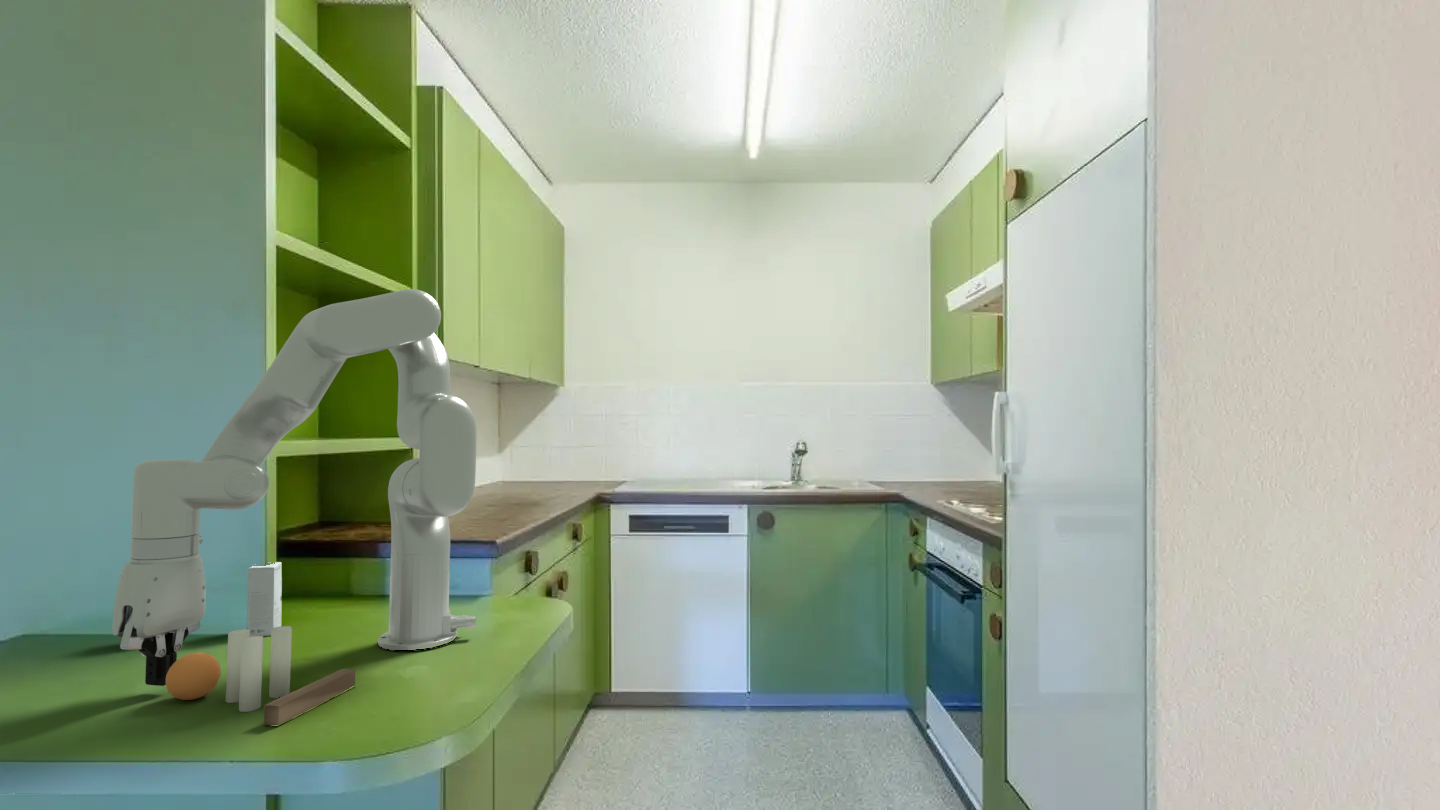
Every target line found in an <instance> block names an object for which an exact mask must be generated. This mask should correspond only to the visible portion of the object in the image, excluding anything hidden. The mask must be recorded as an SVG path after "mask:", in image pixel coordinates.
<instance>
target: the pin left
mask: <svg viewBox="0 0 1440 810" xmlns="http://www.w3.org/2000/svg"><path fill="white" fill-rule="evenodd" d="M263 652H264V636H250V637H245V638H243V639H241V663H240V690H239V702H238V712H241V713H247V712H253V711H257V710H259V709H260V708H261V707H262V687H263V685H262V683H263V682H262V681H263V655H264V654H263Z"/></svg>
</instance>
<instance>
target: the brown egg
mask: <svg viewBox="0 0 1440 810" xmlns="http://www.w3.org/2000/svg"><path fill="white" fill-rule="evenodd" d="M221 669H222V668H221V664H220V662H219V661H218V659H217V658H216V657H214V656H213V655H211V654H209V653H206V652H201V651H200V652H191V653H188V654H186V655H183V656H182V657H180V658H177V661H176V662H175V663H174V664H173V665H172V666H171V667H170V669H169V670H168V672H167V675H166V685H165V688H166V689H167V691H168V692H169V694H170V695H171V696H172V697H174V698H176V699H178V700H183V701H191V700H197V699H199V698H202V697H204V696H206V695H207V694H209V693H210V692H211V691H212V690H213V689H215V687H216V686H217V684H218V682H219V680H220V678H221V672H222V670H221Z"/></svg>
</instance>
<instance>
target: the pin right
mask: <svg viewBox="0 0 1440 810" xmlns="http://www.w3.org/2000/svg"><path fill="white" fill-rule="evenodd" d="M292 631H293V627H292V626H289V625H283V626H282V625H281V626H280V627H275V628H273V629H271V635H270V658H269V659H270V661H269V686H268V688H269V691H268V697H269V698H270V699H279V697H280V698H281V697H283V696H285V695H287V694H289V693H291V691H290V690H291V662H292V639H293V638H292V633H293V632H292Z"/></svg>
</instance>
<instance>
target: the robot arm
mask: <svg viewBox="0 0 1440 810" xmlns="http://www.w3.org/2000/svg"><path fill="white" fill-rule="evenodd" d="M441 320H442V312H441V308H440V305H439V303H438V301H437V300H436V299H435V297H433V296H432V295H430V294H429V293H427V292H426V291H423V290H421V289H415V288H406V289H402V290H398V291H392V292H388V293H383V294H379V295H374V296H368V297H364V298H360V299H359V298H358V299H353V300H352V299H351V300H348V301H342V302H336V303H331V304H328V305H325V306H321V307H320V308H317V309H314V310H311V311H309V312H308V313H307V314H305V315H304V316H303V317H302V318H301V320H300V321H298V324H297V325H296V326H295V328H294V329H293V330H292V332H291V333H290V335H289V337H288V339H287V340H286V341H285V343H284V344H283V346H282V347H281V349H280V350H279V352H278V353H277V355H276V357H275V358H274V360H273V362H272V363H271V364H270V365H269V367H268V369H267V370H266V372H265V373H264V374H263V376H262V378H261V379H260V381H258V383H257V384H256V386H255V387H254V389H253V390H252V391H251V392H250V393H249V395H248V396H247V397H246V399H245V400H244V402H243V403H242V405H241V406H240V407H239V409H238V410H237V411H236V412H235V414H234V415H233V416H232V417H231V418H230V420H229V421H228V423H226V425H225V426H224V428H222V431H221V432H220V433H219V434H218V436H217V437H216V439H215V440H214V441H213V444H212V445H211V446H210V447H209V449H208V451H207V453H206V454H205V455H204V457H203V459H202V460H201V461H195V460H193V459H192V460H190V459H151V460H144V461H142V462H140V463H138V464H137V465H136V466H135V468H134V470H133V477H132V478H133V479H132V504H131V532H130V537H131V538H130V553H129V554H130V558H129V562H125V563H123V566H122V569H121V572H120V576H119V579H118V582H117V587H116V592H115V597H114V598H115V599H114V604H113V605H114V606H113V614H112V615H113V616H112V634H113V636H115V637H117V638H121V641H120V644H119V648H120V650H129V651H130V650H131V651H132V650H133V651H134V650H137V651H138V652H140V654H141V656H142V657H145V658H146V659H145V679H144V683H145V685H147V686H156V687H159V686H160V687H164V686H166V675H167V672H168V670H169V669H170V667H171V666H172V665H173V664H174V663H175V662H176V661H177V660H178V655H177V654H178V652H180V651H181V649H182V648H183V643H184V642H185V640H186V638H187V637H188V635H191V634H193V633H194V632H196V631H197V630H199V629H200V628H201V622H202V620H203V618H204V617H205V612H206V595H207V593H206V575H205V570H204V569H205V568H204V563H203V562H204V561H203V558H202V554H200V545H201V544H202V543H203V540H204V539H203V537H202V535H200V530H201V528H200V527H201V509H211V510H212V509H213V510H227V511H231V510H232V511H237V510H244V509H247V508H251V507H253V506H254V505H256V504H258V503H259V502H260V501H261V500H262V499H263V498H265V496H266V495H267V493H268V490H269V486H270V479H269V475H268V473H267V471H266V470H265V468H264V467H263V465H264V463H265V461H266V460H267V458H268V457H269V456H270V454H271V453H272V451H273V450H274V448H275V447H276V446H277V444H279V442H280V441H281V440H283V438H284V437H286V435H287V434H289V433H290V432H291V431H292V430H294V429H295V428H296V427H298V426H299V425H301V424H302V423H304V422H305V421H306V420H307V419H308V418H309V417H310V416H311V415H312V414H313V413H314V412H315V411H316V409H317V408H318V405H319V404H320V403H321V401H322V399H323V397H324V396H325V394H326V393H327V391H328V389H329V388H330V386H331V384H332V383H333V381H334V379H335V378H336V377H337V374H339V371H340V369H341V368H342V367H343V365H344V363H345V362H346V361H347V360H348V359H349V358H353V357H358V356H364V355H367V354H368V355H369V354H372V353H376V352H381V351H384V350H388V351H389V352H390V353H391V355H392V357H393V358H394V360H395V363H396V366H397V367H396V369H397V375H398V376H397V377H398V378H397V379H398V391H397V415H396V416H397V417H396V430H397V435H398V437H399V439H400V440H401V442H402V443H403V444H404V445H406V446H407V447H409V448H411V449H413V450H414V449H415V450H419V453H418V454H419V457H415V458H411V459H409V460H406V461H404V462H403V463H401V464H400V465H399V466H398V467H396V468H395V470H394V471H393V472H392V474H391V476H390V479H389V482H388V487H387V499H388V506H389V514H390V524H391V525H390V527H391V528H390V529H391V532H390V534H391V537H390V538H391V541H390V542H391V543H390V544H391V545H390V546H391V547H390V568H389V569H390V570H389V571H390V572H389V574H390V575H389V605H388V609H389V610H388V611H389V612H388V614H389V615H388V631H387V632H384V633H383V634H381V635H380V636H379V637H378V641H377V642H378V643H377V644H378V646H379V647H380V648H381V647H382V649H384V650H387V649H389V650H388V651H394V650H408V649H409V650H410V649H419V648H426V647H431V646H437V645H440V644H443V643H446V642H448V641H450V640H452V639H454V638H455V637H456V636H457V637H458V630H457V629H461V628H464V629H466V628H468V629H469V628H476V627H477V616H476V615H470V616H469V614H461V615H455V614H452V613H451V608H450V607H449V606H450V605H449V604H450V567H451V566H450V562H451V528H450V521H449V517H453V516H455V515H457V514H459V513H460V512H462V511H463V510H464V509H466V507H467V506H468V505H469V503H470V502H471V500H472V497H473V495H474V491H475V486H476V475H477V474H476V473H477V472H476V471H477V470H476V469H477V423H476V419H475V415H474V413H473V411H472V409H471V408H470V406H469V404H467V403H466V402H465V401H464V400H463V399H461V398H459V397H457V396H455V395H452V394H451V391H452V390H451V389H452V387H451V367H450V360H449V357H448V353H447V350H446V348H445V346H444V344H443V343H442V341H441V340H440V338H439V337H438V335H437V334H436V332H437V331H438V329H439V327H440V324H441Z"/></svg>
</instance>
